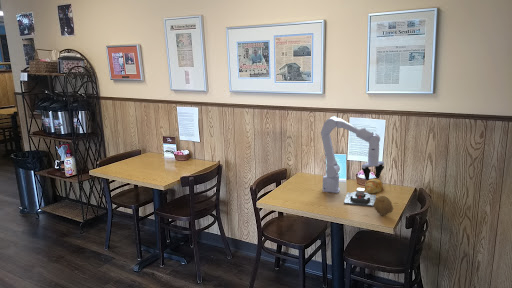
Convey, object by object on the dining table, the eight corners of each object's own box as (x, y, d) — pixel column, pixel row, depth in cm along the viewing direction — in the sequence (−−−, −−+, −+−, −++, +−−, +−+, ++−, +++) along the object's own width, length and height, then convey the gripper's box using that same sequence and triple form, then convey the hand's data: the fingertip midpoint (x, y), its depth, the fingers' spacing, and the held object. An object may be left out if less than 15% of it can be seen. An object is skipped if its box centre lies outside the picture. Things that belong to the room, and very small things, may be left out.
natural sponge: (370, 211, 197) (371, 193, 195) (387, 210, 198) (388, 192, 195) (376, 218, 188) (377, 199, 186) (394, 217, 189) (395, 198, 186)
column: (355, 201, 211) (356, 190, 210) (356, 198, 215) (356, 187, 214) (364, 201, 210) (364, 190, 208) (364, 199, 214) (364, 188, 212)
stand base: (343, 204, 208) (344, 197, 207) (347, 194, 222) (347, 188, 221) (374, 207, 202) (374, 200, 202) (375, 196, 217) (376, 190, 216)
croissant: (372, 201, 220) (379, 191, 216) (357, 191, 223) (363, 180, 220) (383, 189, 236) (389, 180, 233) (369, 180, 240) (375, 170, 236)
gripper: (368, 159, 208) (367, 182, 211) (388, 155, 214) (387, 178, 217) (359, 156, 214) (358, 179, 217) (379, 152, 220) (378, 175, 223)
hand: (372, 178), depth 218 cm, fingers open, 7 cm apart
